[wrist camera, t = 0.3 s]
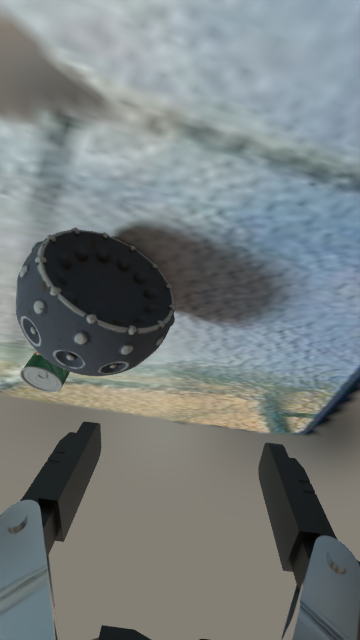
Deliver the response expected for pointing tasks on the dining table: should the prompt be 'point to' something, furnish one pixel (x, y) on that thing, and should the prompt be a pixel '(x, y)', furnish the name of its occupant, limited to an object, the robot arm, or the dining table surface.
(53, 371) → the canned tomato
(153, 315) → the dark grey drum piece
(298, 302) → the dining table surface
